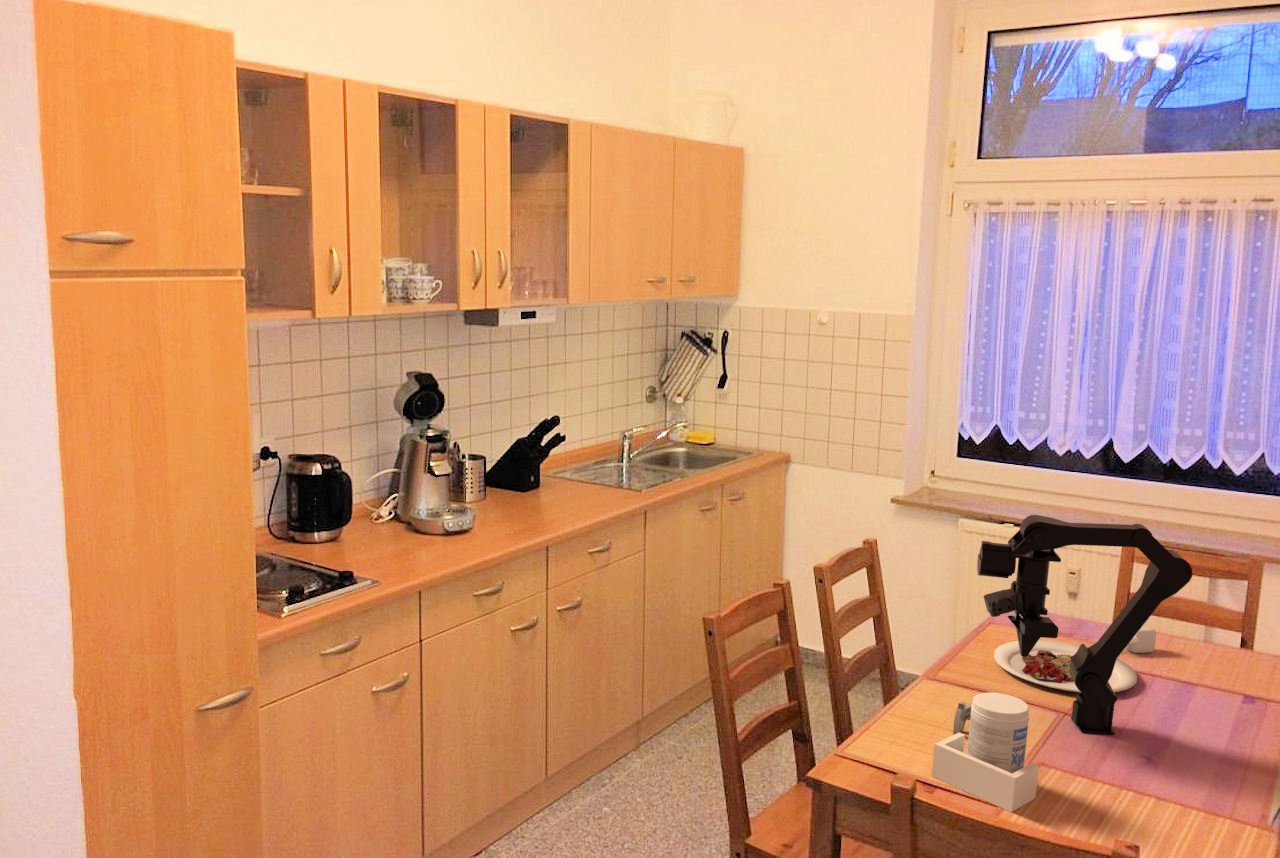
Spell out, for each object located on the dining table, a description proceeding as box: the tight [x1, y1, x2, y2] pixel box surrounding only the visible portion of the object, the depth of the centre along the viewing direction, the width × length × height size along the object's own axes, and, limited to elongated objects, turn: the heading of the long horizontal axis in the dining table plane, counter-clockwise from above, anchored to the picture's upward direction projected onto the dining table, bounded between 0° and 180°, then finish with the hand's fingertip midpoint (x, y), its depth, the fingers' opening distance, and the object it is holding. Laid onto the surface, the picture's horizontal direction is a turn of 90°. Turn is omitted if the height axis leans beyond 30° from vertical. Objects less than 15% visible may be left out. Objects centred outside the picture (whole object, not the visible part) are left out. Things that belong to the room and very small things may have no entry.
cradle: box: [931, 732, 1040, 813], centre depth 184 cm, size 8×15×6 cm, turn 41°
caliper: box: [952, 701, 972, 735], centre depth 211 cm, size 21×1×6 cm, turn 141°
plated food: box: [993, 639, 1138, 693], centre depth 238 cm, size 30×30×3 cm
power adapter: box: [1125, 624, 1157, 654], centre depth 252 cm, size 11×5×6 cm, turn 103°
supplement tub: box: [966, 692, 1030, 773], centre depth 185 cm, size 10×10×15 cm
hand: (1023, 656), depth 211 cm, fingers closed
